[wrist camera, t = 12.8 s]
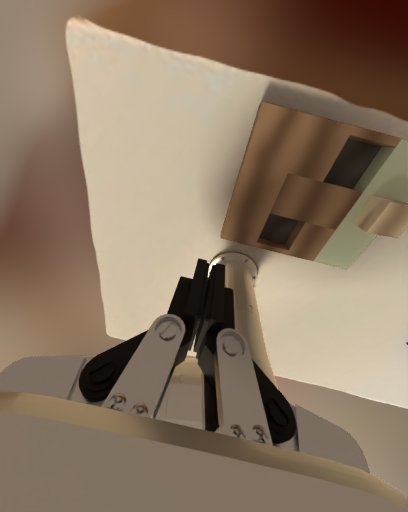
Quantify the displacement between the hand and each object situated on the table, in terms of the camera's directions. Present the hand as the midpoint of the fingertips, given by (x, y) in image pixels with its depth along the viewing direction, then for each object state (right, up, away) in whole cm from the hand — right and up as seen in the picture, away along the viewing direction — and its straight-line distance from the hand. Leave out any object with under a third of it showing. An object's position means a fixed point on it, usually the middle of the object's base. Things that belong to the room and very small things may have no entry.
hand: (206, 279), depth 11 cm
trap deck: (+16, +13, +22) cm, 30 cm away
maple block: (+30, +9, +19) cm, 36 cm away
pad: (+30, +10, +22) cm, 38 cm away
